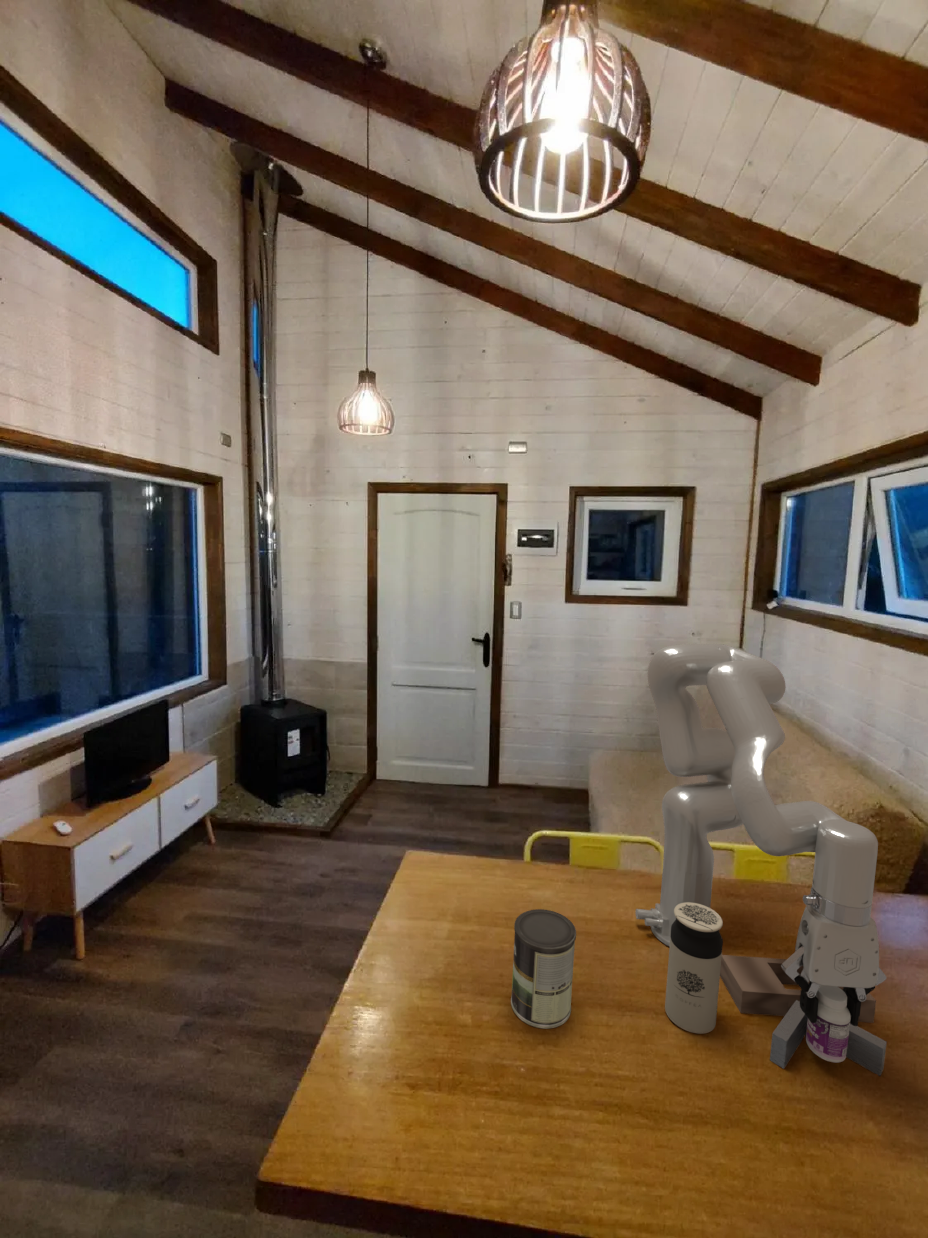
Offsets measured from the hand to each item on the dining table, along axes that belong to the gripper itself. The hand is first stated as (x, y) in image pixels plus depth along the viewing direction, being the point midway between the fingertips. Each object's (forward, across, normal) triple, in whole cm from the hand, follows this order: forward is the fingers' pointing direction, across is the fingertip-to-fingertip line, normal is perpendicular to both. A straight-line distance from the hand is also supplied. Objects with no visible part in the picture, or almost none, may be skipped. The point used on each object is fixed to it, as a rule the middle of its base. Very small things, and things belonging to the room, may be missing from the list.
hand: (828, 1016), depth 87 cm
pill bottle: (+6, 0, 0) cm, 6 cm away
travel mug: (+8, -18, +7) cm, 21 cm away
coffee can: (+8, -43, +7) cm, 44 cm away
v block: (+7, 0, +2) cm, 8 cm away
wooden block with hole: (+7, +2, +13) cm, 15 cm away
